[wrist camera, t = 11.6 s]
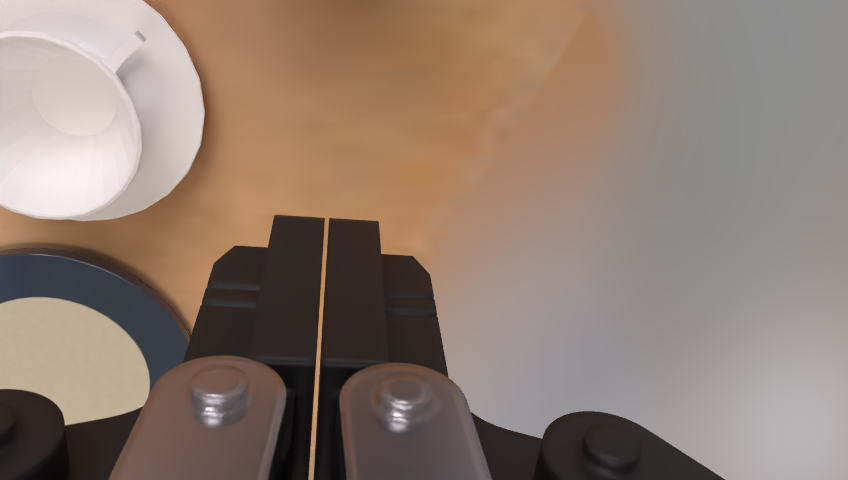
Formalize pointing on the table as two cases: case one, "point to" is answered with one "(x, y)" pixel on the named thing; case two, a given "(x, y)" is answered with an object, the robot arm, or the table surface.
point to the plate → (83, 333)
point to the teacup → (93, 108)
